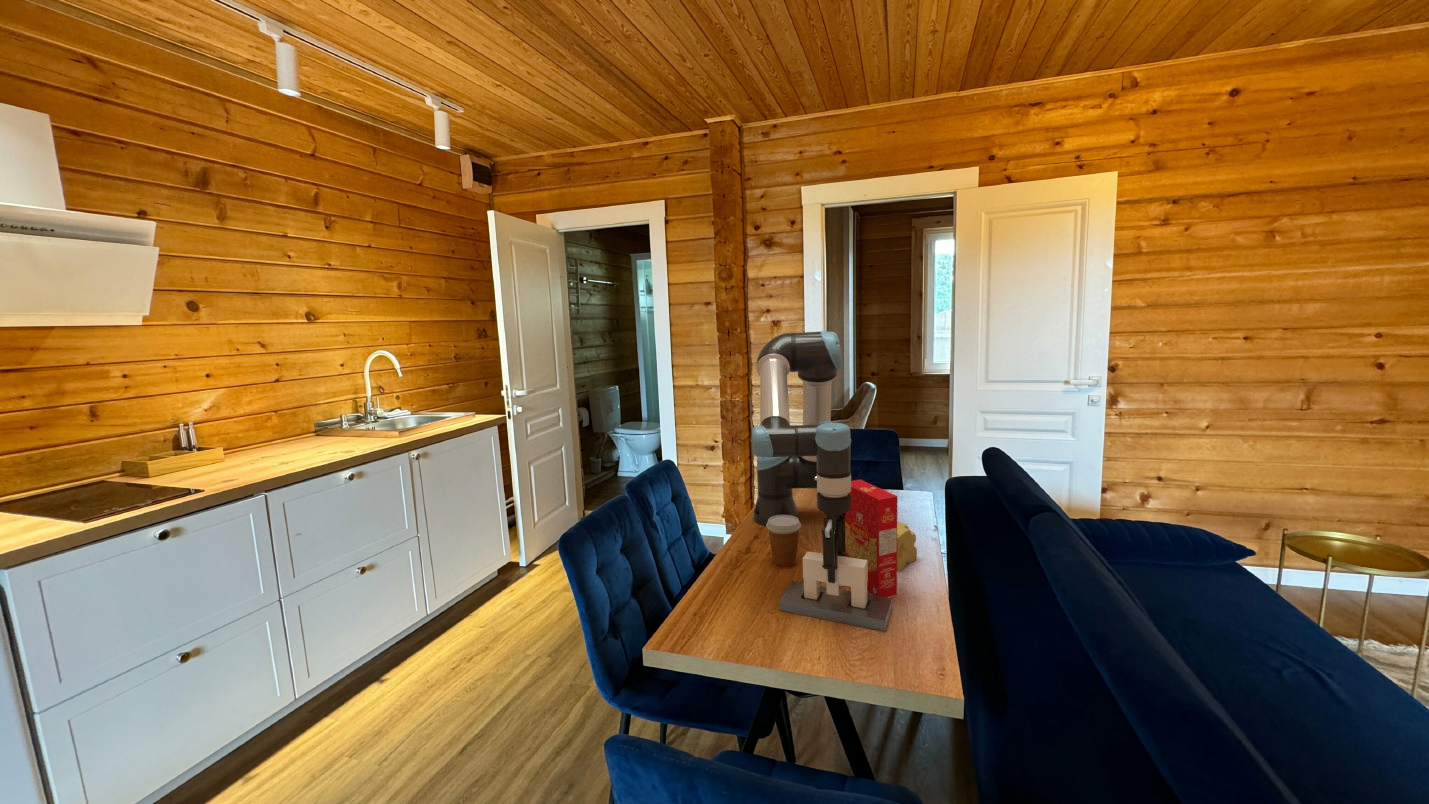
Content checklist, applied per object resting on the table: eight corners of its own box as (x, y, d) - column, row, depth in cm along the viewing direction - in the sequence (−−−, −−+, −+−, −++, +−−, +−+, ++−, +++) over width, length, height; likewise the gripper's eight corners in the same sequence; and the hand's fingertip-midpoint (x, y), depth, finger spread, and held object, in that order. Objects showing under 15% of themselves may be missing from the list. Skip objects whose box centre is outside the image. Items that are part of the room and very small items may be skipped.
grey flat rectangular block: (779, 610, 130) (779, 600, 129) (792, 590, 139) (792, 581, 138) (885, 631, 120) (885, 620, 119) (892, 608, 128) (892, 598, 128)
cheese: (917, 559, 152) (917, 525, 151) (898, 573, 145) (898, 537, 143) (882, 549, 160) (882, 516, 158) (862, 562, 152) (862, 527, 151)
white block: (803, 598, 130) (802, 558, 128) (808, 590, 133) (807, 551, 132) (864, 609, 124) (864, 567, 122) (867, 600, 127) (867, 560, 126)
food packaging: (843, 573, 146) (842, 482, 142) (860, 569, 148) (859, 479, 144) (878, 599, 133) (878, 499, 129) (896, 594, 134) (897, 495, 130)
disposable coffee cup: (800, 569, 150) (799, 527, 148) (765, 568, 151) (764, 526, 150) (802, 554, 159) (801, 514, 157) (769, 553, 161) (768, 513, 159)
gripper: (826, 479, 134) (828, 570, 137) (806, 502, 119) (809, 604, 122) (858, 482, 131) (858, 575, 134) (842, 506, 115) (843, 610, 119)
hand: (835, 589), depth 128 cm, fingers closed on white block, 4 cm apart
